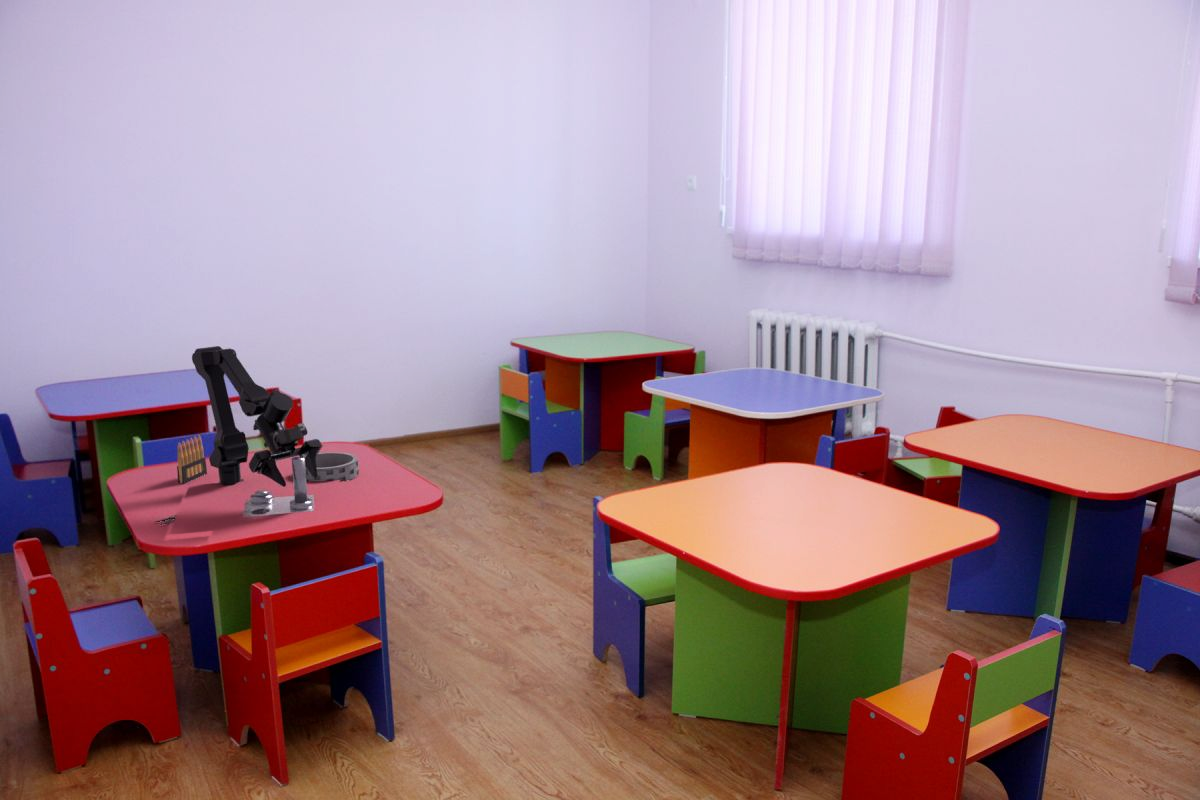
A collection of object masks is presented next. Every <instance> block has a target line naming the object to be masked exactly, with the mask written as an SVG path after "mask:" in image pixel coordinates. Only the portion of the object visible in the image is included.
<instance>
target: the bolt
mask: <svg viewBox="0 0 1200 800" xmlns="http://www.w3.org/2000/svg"><path fill="white" fill-rule="evenodd" d="M291 467H292V469H291V470H292V481H293V482H292V483H293V485H292V486H293V494H294V495H293V496H294V500H292V501H290V509H292V510H307V509H310V508H312V507H313V500H312V499H310V498H307V495H308V487H307V486H308V484H307V480H306V468H305V457H300V456H294V457H291Z"/></svg>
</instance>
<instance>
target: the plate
mask: <svg viewBox="0 0 1200 800" xmlns="http://www.w3.org/2000/svg"><path fill="white" fill-rule="evenodd" d="M307 498H310V499H312V500H313V507H312V508H310V509H307V510H292V509H290V501H292V500H294V495H291V496H290V495H288V496H278V497H273V501H272V502H270V503H266V504H252V503H251V499H246V502H245V505H244V510H243V514H242V518H248V517H259V516H261V517H262V516H271V515H272V516H273V515H282V514H283V515H285V514H294V513H296V514H297V513H303V512H304V513H305V512H314V511H315V505H314V504H315V497H314V494H307Z"/></svg>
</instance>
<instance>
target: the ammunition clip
mask: <svg viewBox="0 0 1200 800" xmlns="http://www.w3.org/2000/svg"><path fill="white" fill-rule="evenodd" d="M189 438H190V439H188V438H187V439H186V440H185V441H184V440H182V441H181V442H179V441H178V442H177V443H178V444H177V457H176V458H177V466H176V469H177V470H176V472H177V483H180V485H185V484H187V482H188V483H190V482H192V481H195V480H196V478H197V479H199V478H201V477H203V476H205V475H207V474H208V469H207V468H208V467H207V461H206V457H205V455H204V454H205V453H204V447H203V441H202V437H201V435H200V434H198V435H197V436H195V435H194V437H193V438H192V437H189ZM204 474H205V475H204ZM202 475H203V476H202ZM200 476H201V477H200ZM198 477H199V478H198ZM191 480H192V481H191ZM189 481H190V482H189Z"/></svg>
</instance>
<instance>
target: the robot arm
mask: <svg viewBox="0 0 1200 800" xmlns="http://www.w3.org/2000/svg"><path fill="white" fill-rule="evenodd" d="M237 356H238V355H237V352H236V350H235V349H232V348H222V347H221V346H220V345H216V346H206V347H200V348H196V349H195V350H194V353H192V354H191V359H192V360H191V361H192V364H193V365H194V368H195V370H196V373H197V374H198V375H199V376H200V377H201V379H203V380H204V382H205V385H206V389H207V393H208V398H209V403H210V405H211V407H210V408H211V410H212V414H213V420H214V423H215V428H216V435H215V437H214V440H213V447H214V448H213V451H212V452H211V454H210V456H209V458H208V459H209V464H210V466H211V467H213V468H216V469H218V477H219V481H218V484H221V485H222V486H234V485H236V484H238V483H240V482H244V478H242V474H241V464H243V463H244V464H245V463H248V456H249V449H250V448H249V444H248V442H247V441H248V440H247V439H246V434H245V432H244V431H240V430H239V429H238V428H237V427H236V423H235V419H234V415H233V410H232V407H231V401H230V397H229V394H228V393H229V392H228V390H227V389H228V388H227V384H226V380H225V376H226V377H227V379H228V380H229V382H230V383H231V385H232V387H233V388H234V389H235V391H236V392H237V394H238V395H239V396H238V397H239V399H238V403H239V405H240V407H241V408H240V409H241V411H242V413H243V414H244V415H245V416H246V417H249V418H250V417H255V416H257V417H256V419H255V420H254V424H253V431H258V432H259V433H260V435H261V437H262V439H263V440H264V443H263V447H265V448H268V449H265V448H264V449H265V450H260V451H256V452H255V453H254V454H253V456H252V457H251V459H250V461H249V463H248V468H249V469H250V471H251V473H253V474H254V473H257V474H258V475H262V476H265V477H267V478H268V479H271V480H272V481H274V482H276V483H277V484H278V485H279V486H281V487H283V488H285V487H286V486H287V483H286V481H285V478H284V477H283V475H282V473H281V471H280V469H279V468H278V466H277V461H281V460H285V459H290V458H294V457H305V467H306V468H307V469H308V471H309V472H310V474H311V475H312V476H313V477H314V478H315V479H316V478H317V477H318V474H317V467H316V456H317V454H318V453H320V451H321V449H322V448H323V444H322V442H321V441H320V439H318V438H314V439H309V440H305V441H304V442H303V443H302V445H301V447H297V446H298V444H299V441H300V440H303V439H304V436H305V437H306V435H308V429H307V427H306V425H305V424H304V423H297V425H294V427H291V428H285V427H284V425H283V424H282V423H283V422H284V421H285V420H286V419H287V417H288V415H289V413H290V411H291V409H293V407H294V401H293V399H292V397H290V396H288V394H286V393H282V392H280V390H279V389H275V390H271V392H269V391H268V390H267V389H266V388H264V387H263V386H261V385H258V383H257V384H256V382H255V381H254V379H253V378H252V377H251V375H250V374H249V372H248V371H247V370H246V368H245V367H244V365H243V364H242V362H241V361H240V359H239V358H238V357H237Z"/></svg>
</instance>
